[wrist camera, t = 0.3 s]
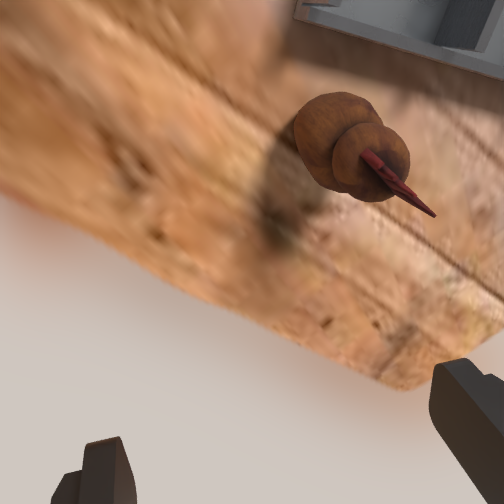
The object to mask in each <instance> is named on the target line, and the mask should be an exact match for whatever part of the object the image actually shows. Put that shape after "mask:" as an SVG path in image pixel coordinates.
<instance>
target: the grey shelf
mask: <svg viewBox="0 0 504 504" xmlns="http://www.w3.org/2000/svg"><path fill="white" fill-rule="evenodd" d="M293 19H297V20H300V21H303V22H307V23H310V24H313V25H317V26H320V27H323V28H327V29H330V30H333V31H337V32H340V33H343V34H347V35H350V36H353V37H357V38H360V39H363V40H367V41H370V42H373V43H377V44H380V45H383V46H387V47H390V48H393V49H397V50H400V51H403V52H407V53H410V54H413V55H417V56H420V57H424V58H427V59H430V60H434V61H437V62H440V63H444V64H447V65H450V66H454V67H457V68H460V69H464V70H467V71H470V72H474V73H477V74H480V75H484V76H487V77H490V78H494V79H497V80H500V81H504V0H297V4H296V8H295V12H294V16H293Z"/></svg>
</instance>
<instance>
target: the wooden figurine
mask: <svg viewBox="0 0 504 504" xmlns="http://www.w3.org/2000/svg"><path fill="white" fill-rule="evenodd" d="M294 138H295V141H296V145H297V148H298V151H299V153H300V156H301V158H302V160H303V162H304V164H305V166H306V167H307V169H308V171H309V172H310V173H311V175H312V176H313V178H314V179H315V181H316V182H317V183H318V184H319V185H321V186H323V187H325V188H327V189H330V190H333V191H336V192H339V193H348V194H350V195H351V196H352V197H354V198H355V199H358V200H361V201H364V202H382V201H384V200H387V199H389V198H391V197H393V196H394V195H396V196H398V197H399V198H401V199H403V200H404V201H406V202H408V203H409V204H411V205H413V206H415V207H416V208H418V209H420V210H421V211H423V212H425V213H426V214H428V215H430V216H431V217H433V218H435V217H436V216H437V215H436V214H435V213H434V212H433V211H432V210H430V209H429V208H428V207H427V206H426V205H425V204H424V203H423V202H422V201H421V200H420V199H419V198H418V197H417V195H416V194H415V193H414V192H413V191H412V190H411V189H410V188H409V187H408V186H406V185H405V184H404V182H405V180H406V179H407V177H408V173H409V168H410V153H409V150H408V148H407V146H406V144H405V143H404V141H403V140H402V138H401V137H400V136H399V135H398V134H397V133H396V132H395V131H393V130H392V129H390V128H388V127H385V126H384V125H383V122H382V120H381V118H380V117H379V116H378V114H377V113H376V111H375V110H374V108H373V107H372V105H371V104H370V102H368V101H367V100H366V99H364V98H361V97H358V96H356V95H353V94H350V93H347V92H335V93H329V94H323V95H320V96H318V97H316V98H314V99H312V100H310V101H309V102H308V103H307V104H306V105H305V106H303V107H302V108H301V109H300V110H299V112H298V114H297V117H296V119H295V121H294Z"/></svg>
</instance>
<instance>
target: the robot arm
mask: <svg viewBox="0 0 504 504" xmlns="http://www.w3.org/2000/svg"><path fill="white" fill-rule="evenodd" d="M429 413H430V417H431V420H432V422H433V425H434V426H435V428H436V430H437V431H438V433H439V434H440V436H441V437H442V439H443V440H444V441H445V443H446V444H447V446H448V447H449V449H450V450H451V452H452V453H453V454H454V456H455V457H456V459H457V460H458V462H459V463H460V465H461V466H462V467H463V469H464V470H465V472H466V473H467V474H468V476H469V478H470V479H471V480H472V482H473V483H474V485H475V486H476V488H477V489H478V491H479V492H480V493H481V495H482V496H483V498H484V499H485V501H486V502H487V503H488V504H504V381H503V380H501V379H499V378H498V377H496V376H494V375H493V374H487V375H483V374H482V372H481V371H480V370H479V369H478V368H477V367H476V366H475V365H474V364H473V363H472V362H471V361H470V360H469V359H467V358H461V359H456V360H452V361H448V362H443V363H439V364H436V365H435V367H434V371H433V378H432V386H431V392H430V399H429ZM51 504H137V494H136V486H135V481H134V476H133V473H132V470H131V467H130V464H129V461H128V458H127V455H126V452H125V449H124V446H123V443H122V440H121V438H120V437H119V436H118V437H114V438H109V439H105V440H100V441H96V442H92V443H88V444H86V446H85V450H84V458H83V466H82V470H79V471H75V472H71V473H67V474H65V475H64V476H63V478H62V480H61V482H60V483H59V485H58V487H57V489H56V491H55V493H54V494H53V496H52V498H51Z"/></svg>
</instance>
